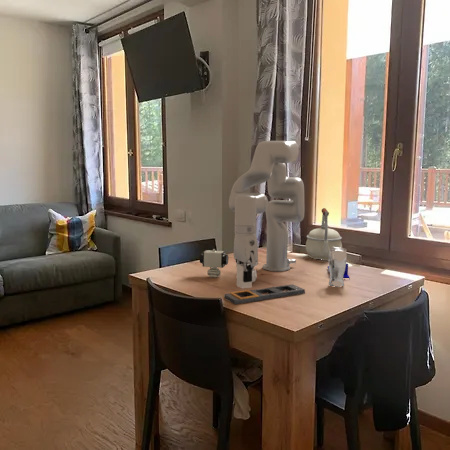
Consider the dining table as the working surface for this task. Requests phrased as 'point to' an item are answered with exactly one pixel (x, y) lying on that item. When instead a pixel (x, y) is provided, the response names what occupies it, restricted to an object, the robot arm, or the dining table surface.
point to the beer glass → (337, 266)
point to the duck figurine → (254, 273)
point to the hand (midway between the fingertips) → (244, 279)
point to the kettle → (322, 240)
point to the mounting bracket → (344, 272)
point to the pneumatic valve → (214, 261)
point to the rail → (257, 294)
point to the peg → (240, 277)
